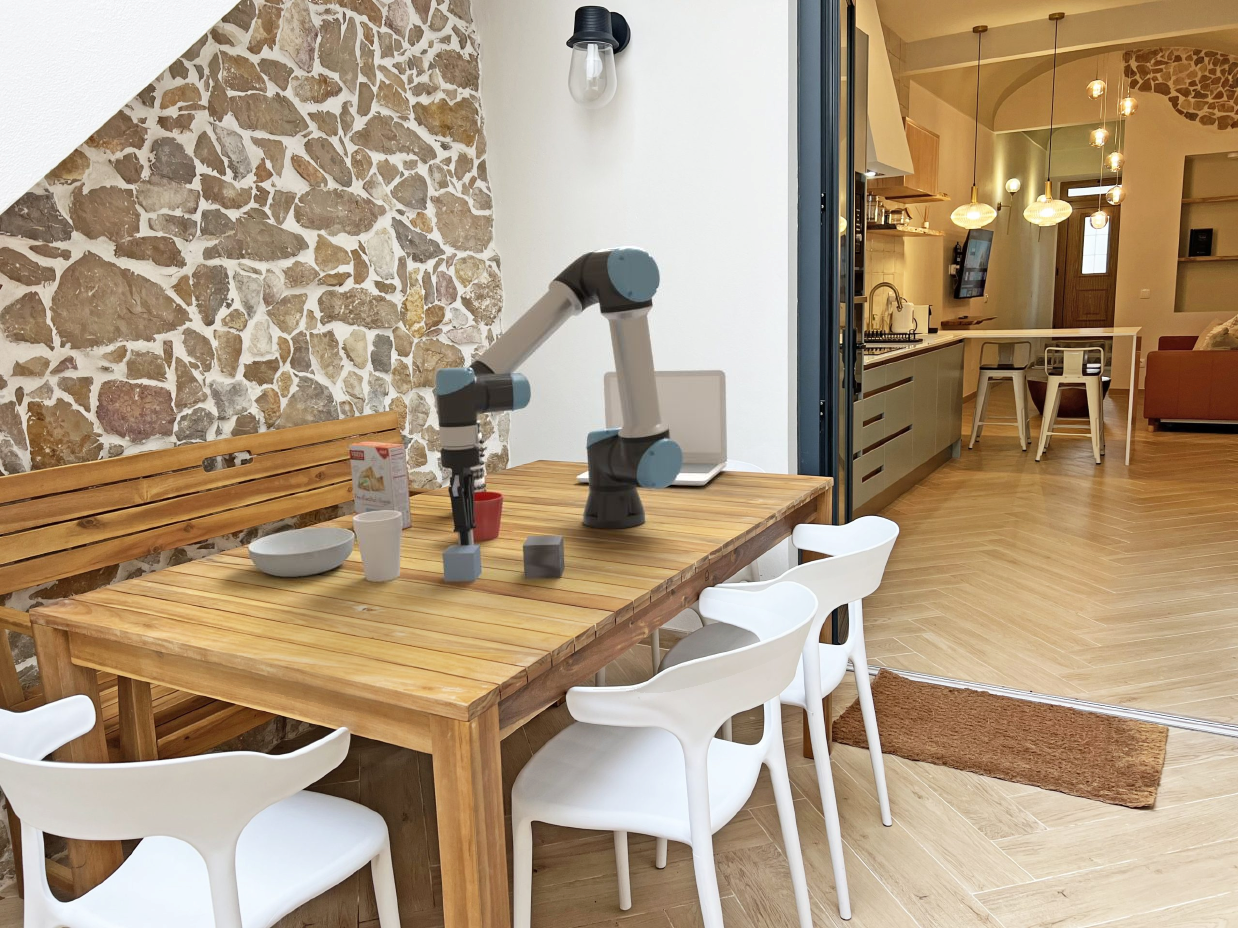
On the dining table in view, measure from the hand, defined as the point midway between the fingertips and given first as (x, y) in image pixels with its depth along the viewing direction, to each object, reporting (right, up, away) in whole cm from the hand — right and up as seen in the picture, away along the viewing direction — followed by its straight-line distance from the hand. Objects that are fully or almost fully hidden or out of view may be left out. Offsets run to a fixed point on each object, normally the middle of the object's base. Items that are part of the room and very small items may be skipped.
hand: (467, 561), depth 185 cm
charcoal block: (+16, -2, -4) cm, 17 cm away
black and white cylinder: (-8, +7, +56) cm, 57 cm away
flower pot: (-1, +3, +28) cm, 28 cm away
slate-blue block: (0, -3, -5) cm, 5 cm away
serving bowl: (-35, -3, +5) cm, 35 cm away
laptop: (+41, +16, +96) cm, 106 cm away
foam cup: (-16, -3, -3) cm, 17 cm away
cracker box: (-28, +4, +41) cm, 50 cm away
